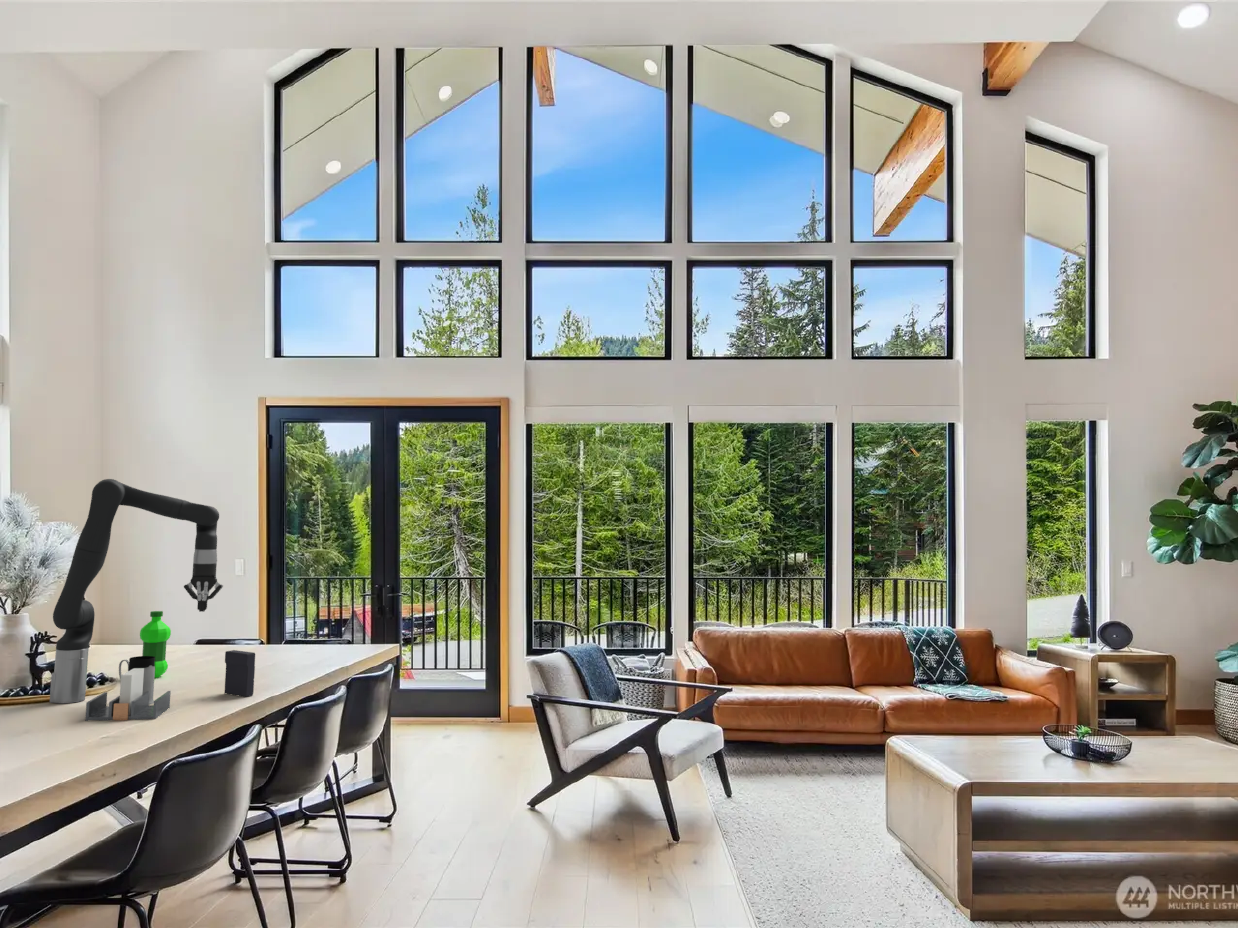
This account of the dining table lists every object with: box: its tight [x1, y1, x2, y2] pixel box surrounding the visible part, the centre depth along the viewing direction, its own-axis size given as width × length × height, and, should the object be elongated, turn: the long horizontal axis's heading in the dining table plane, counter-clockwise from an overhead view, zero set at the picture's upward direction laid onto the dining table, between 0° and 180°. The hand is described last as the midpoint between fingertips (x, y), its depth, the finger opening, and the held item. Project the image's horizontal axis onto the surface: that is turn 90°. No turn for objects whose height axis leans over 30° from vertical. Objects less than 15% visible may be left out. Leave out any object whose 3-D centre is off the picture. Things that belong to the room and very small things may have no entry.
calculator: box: [224, 649, 256, 698], centre depth 294 cm, size 11×4×15 cm, turn 65°
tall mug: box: [118, 655, 155, 705], centre depth 278 cm, size 9×14×15 cm, turn 71°
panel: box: [119, 668, 144, 714], centre depth 264 cm, size 3×12×12 cm, turn 14°
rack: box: [84, 690, 172, 722], centre depth 262 cm, size 19×16×6 cm
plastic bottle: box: [139, 610, 172, 679], centre depth 322 cm, size 10×10×25 cm
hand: (202, 611), depth 295 cm, fingers closed
